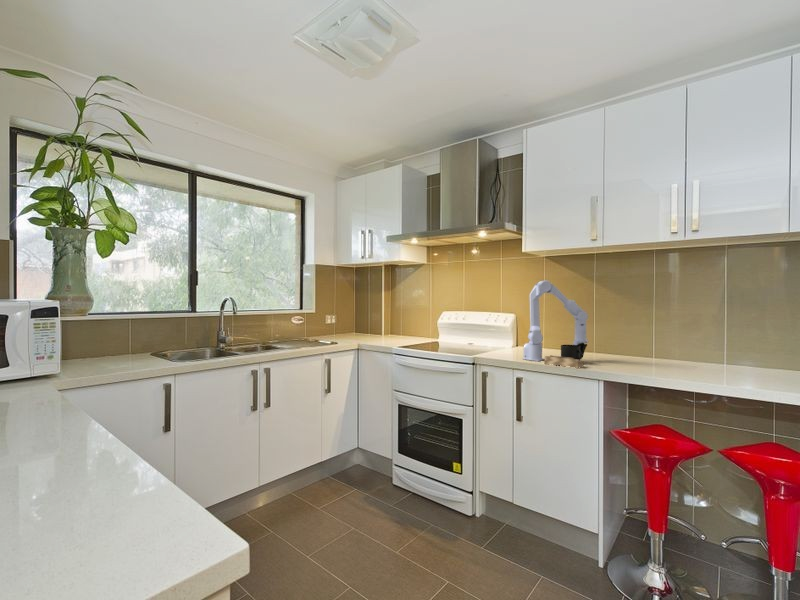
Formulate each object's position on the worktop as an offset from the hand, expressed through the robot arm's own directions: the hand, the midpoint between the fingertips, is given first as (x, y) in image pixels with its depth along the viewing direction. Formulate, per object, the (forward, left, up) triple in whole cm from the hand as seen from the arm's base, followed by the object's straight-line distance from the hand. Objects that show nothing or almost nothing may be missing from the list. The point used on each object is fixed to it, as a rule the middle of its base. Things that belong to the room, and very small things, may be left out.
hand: (580, 357), depth 218 cm
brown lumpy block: (0, -20, -2) cm, 21 cm away
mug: (0, -10, -2) cm, 10 cm away
